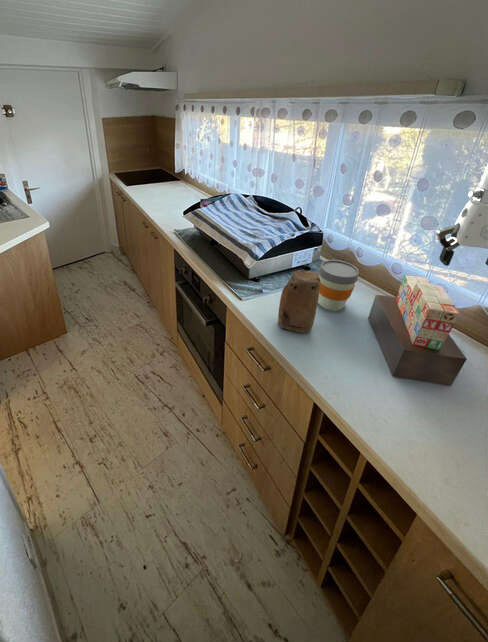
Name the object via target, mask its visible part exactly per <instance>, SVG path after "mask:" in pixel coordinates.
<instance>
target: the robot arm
mask: <svg viewBox="0 0 488 642" xmlns="http://www.w3.org/2000/svg"><path fill="white" fill-rule="evenodd" d="M468 197H469V198H472V199H469V200H468V202H466V204H465V205H464V207H463V208H462V210H461V212H460V214H459V215H458V217H457V219H456V221H455V223H454V224H453V225H449V226H447V227H444V228H440V229H437V230H436V232H435V234H436V237H437V241H438V242H439V243H440V245H441V247H442V250H441V252H440V254H439V258H438V259H439V261H440V262H441V263H442V265H443V266H447V267H448V266H450V265H451V262H452V259H453V257H454V255H455V251H454V250H455V249H457V248H458V247H460V246H461V247H466V248H467V247H468V248H479V249H481V248H482V249H488V163H487V165H486V167H485V169H484V171H483V174H482V177H481V179H480V181H479V183H478V186H476V189H475V190H470V191H469V192H468ZM448 235H450V237H449V238H448V239H447V237H446V236H448ZM484 264H485V265H486V266H488V257H487V258H486V260H485V262H484Z"/></svg>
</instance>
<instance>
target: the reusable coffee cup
mask: <svg viewBox="0 0 488 642" xmlns="http://www.w3.org/2000/svg"><path fill="white" fill-rule="evenodd" d="M318 275H319V276H320V292H319V299H318V305H319V306H320V307H322V308H323V309H326V310H328V311H334V312H335V311H340V310H341V311H342V310H343V308H344V307H345V305H346V303H347V300H348V299H350V297H351V295H352V293H353V291H354V290H355V283H357V282H358V278H359V269H358V268H357V267H356V265H354V264H352V263H349V262H347V261H344V260H340V259H327V260H324V261H322V262H321V264H320V266H319V269H318Z"/></svg>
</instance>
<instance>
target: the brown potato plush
mask: <svg viewBox="0 0 488 642" xmlns="http://www.w3.org/2000/svg"><path fill="white" fill-rule="evenodd" d="M319 292H320V276H319V273H318V272H315V271H308V270H301V269H300V270H294V271H293V272H292V274H291V276H290V279H289V280H288V282H287V283H286V285H284V287H283V289H282V291H281V294H280V299H279V305H278V313H277V320H278V321H277V323H278V326H279V327H280V328H283V329H285V330H288V331H291V332H296V333H303V334H304V333H309V332H311V331H312V328H313V326H314V323H315V320H316V319H315V318H316V313H317V308H318V305H319V303H318V299H319Z"/></svg>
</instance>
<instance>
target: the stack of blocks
mask: <svg viewBox="0 0 488 642" xmlns="http://www.w3.org/2000/svg"><path fill="white" fill-rule="evenodd" d="M396 297H397V298H396V301H397V303H398V307H399V309H400V312H401V315H402V316H403V319H404V322H405V324H406V327H407V329H408V333H409V336H410V339H411V341H412V344H413V345H416V346H421V347H427V348H431V349H436V350H441V348H442V346H443V344H444V343H445V340H446V338H447V336H448V334H449V335H450V333H451V332H452V330H453V328H454V326H455V324H456V322H457V320H458V318H459V317H460V315H461V313H460V311H459V310H458V308H457V307H456V304H455V303H454V301H453V299H451V297H450V296H449V294H448V293H447V292H446V290H445V289H444V288H443V286H442V285H435V284H432V283H431V282H430V280H429V279H428V278H427V277H420V276H412V275H405V274H404V275H403V277H402V280H401V284H400V286H399V289H398V292H397V294H396Z"/></svg>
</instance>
